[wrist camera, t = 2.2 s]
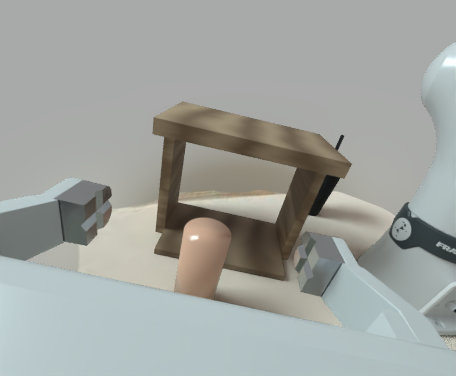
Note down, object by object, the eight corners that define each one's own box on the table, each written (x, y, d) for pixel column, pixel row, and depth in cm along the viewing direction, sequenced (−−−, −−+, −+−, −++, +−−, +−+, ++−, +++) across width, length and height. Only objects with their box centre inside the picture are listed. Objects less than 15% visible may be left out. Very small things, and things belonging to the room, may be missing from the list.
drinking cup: (290, 209, 59) (321, 131, 49) (298, 199, 65) (328, 128, 56) (319, 223, 56) (359, 143, 46) (326, 211, 62) (362, 138, 52)
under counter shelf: (280, 229, 50) (319, 134, 40) (292, 282, 38) (351, 163, 28) (170, 204, 49) (182, 101, 39) (144, 251, 37) (153, 117, 27)
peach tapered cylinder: (213, 290, 33) (232, 223, 28) (208, 325, 29) (230, 254, 23) (177, 282, 33) (189, 213, 28) (166, 317, 28) (178, 243, 23)
